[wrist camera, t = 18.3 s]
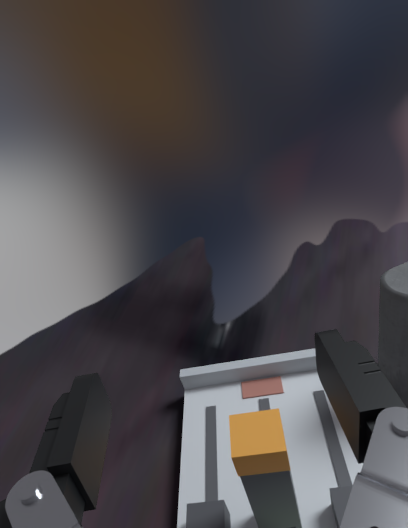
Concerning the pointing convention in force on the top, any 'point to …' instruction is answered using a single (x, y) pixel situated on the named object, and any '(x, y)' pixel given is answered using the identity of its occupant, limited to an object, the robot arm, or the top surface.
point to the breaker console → (295, 431)
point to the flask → (394, 329)
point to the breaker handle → (264, 467)
